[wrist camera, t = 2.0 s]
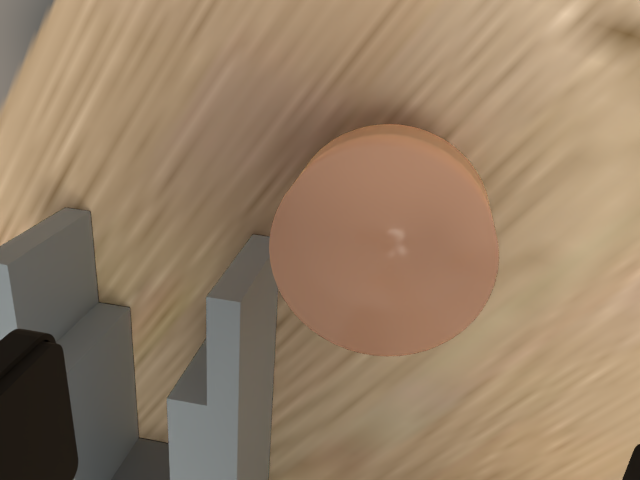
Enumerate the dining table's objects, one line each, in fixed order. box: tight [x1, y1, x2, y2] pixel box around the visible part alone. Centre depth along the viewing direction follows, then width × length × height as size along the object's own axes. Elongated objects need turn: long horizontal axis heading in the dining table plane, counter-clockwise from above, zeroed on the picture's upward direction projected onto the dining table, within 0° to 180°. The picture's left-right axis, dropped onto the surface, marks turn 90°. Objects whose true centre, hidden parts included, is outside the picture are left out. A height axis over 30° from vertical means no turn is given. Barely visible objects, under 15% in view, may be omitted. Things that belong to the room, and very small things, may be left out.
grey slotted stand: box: [0, 208, 278, 480], centre depth 28 cm, size 16×11×7 cm, turn 176°
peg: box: [269, 124, 499, 356], centre depth 21 cm, size 7×7×8 cm
